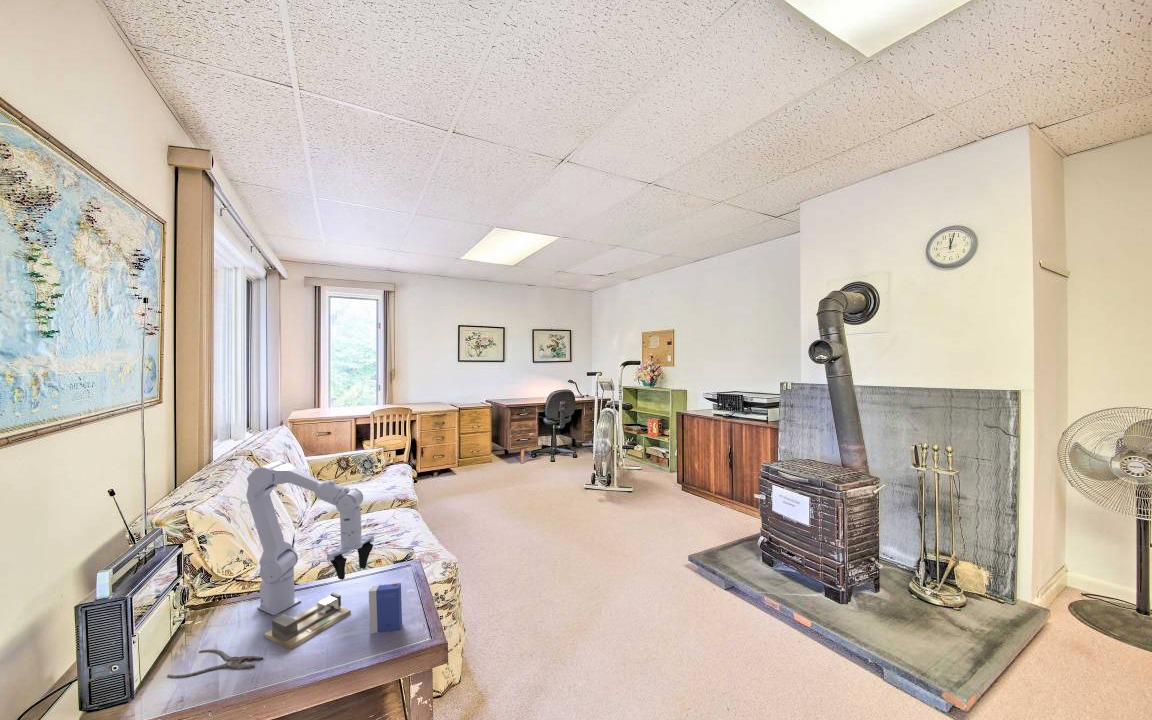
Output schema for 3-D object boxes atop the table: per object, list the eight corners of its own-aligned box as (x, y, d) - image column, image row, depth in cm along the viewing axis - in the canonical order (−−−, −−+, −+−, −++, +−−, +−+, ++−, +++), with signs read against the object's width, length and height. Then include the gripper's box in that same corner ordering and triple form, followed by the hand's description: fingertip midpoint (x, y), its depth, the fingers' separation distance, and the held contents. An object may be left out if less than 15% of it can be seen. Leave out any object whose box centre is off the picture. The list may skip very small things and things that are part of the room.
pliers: (192, 650, 110) (277, 639, 113) (192, 653, 110) (277, 642, 113) (162, 678, 100) (256, 665, 103) (163, 682, 100) (256, 669, 103)
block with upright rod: (333, 603, 128) (333, 592, 128) (347, 608, 125) (347, 597, 125) (317, 611, 124) (317, 600, 124) (331, 617, 121) (331, 606, 121)
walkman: (402, 623, 119) (400, 581, 119) (399, 630, 116) (398, 586, 116) (372, 627, 118) (371, 584, 118) (369, 633, 115) (368, 590, 115)
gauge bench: (325, 603, 130) (325, 587, 130) (350, 613, 125) (350, 596, 125) (264, 636, 115) (264, 618, 115) (290, 649, 110) (289, 630, 110)
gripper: (336, 541, 123) (338, 587, 124) (379, 523, 136) (381, 565, 137) (322, 537, 127) (323, 582, 127) (365, 520, 140) (366, 560, 140)
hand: (352, 573), depth 132 cm, fingers open, 7 cm apart
